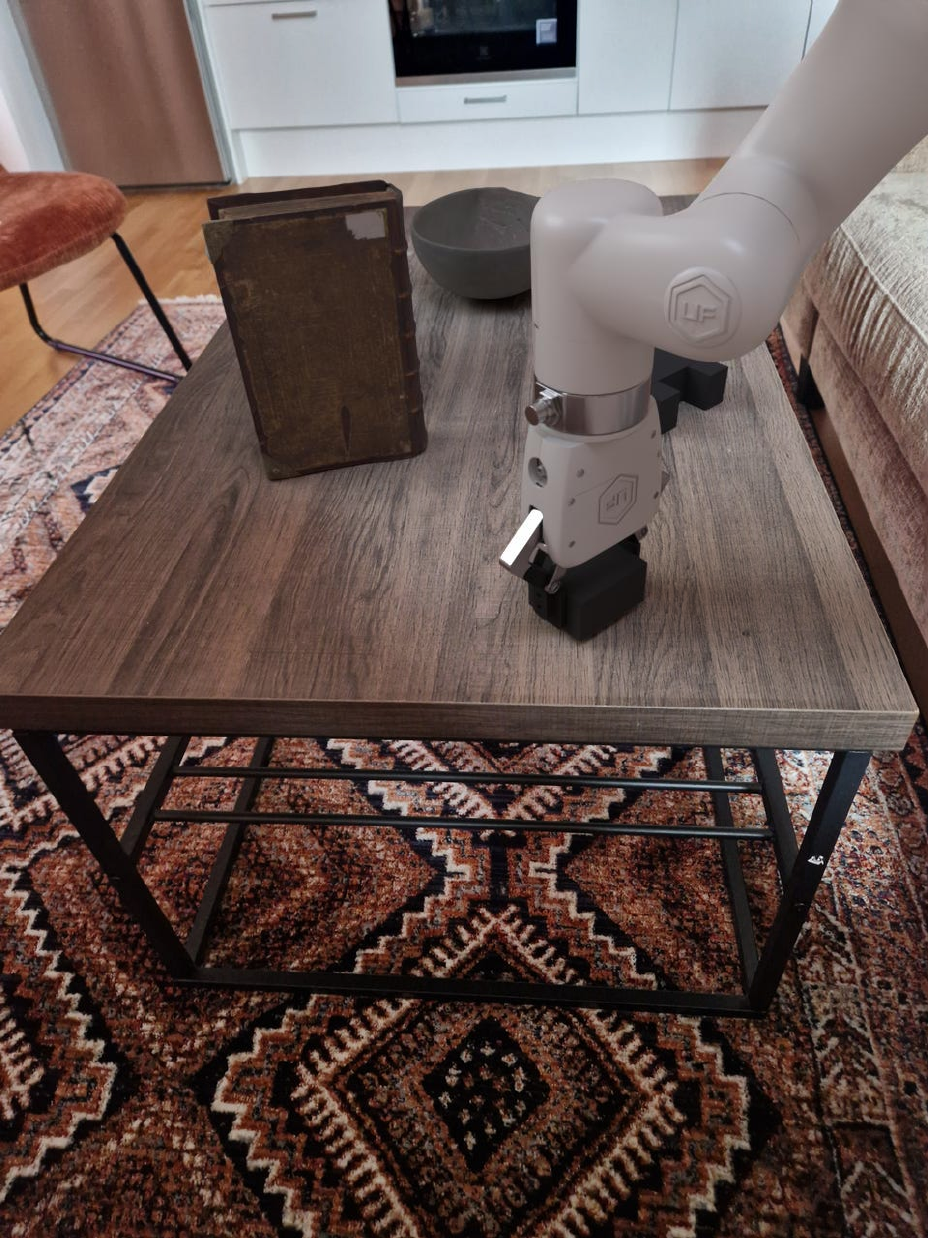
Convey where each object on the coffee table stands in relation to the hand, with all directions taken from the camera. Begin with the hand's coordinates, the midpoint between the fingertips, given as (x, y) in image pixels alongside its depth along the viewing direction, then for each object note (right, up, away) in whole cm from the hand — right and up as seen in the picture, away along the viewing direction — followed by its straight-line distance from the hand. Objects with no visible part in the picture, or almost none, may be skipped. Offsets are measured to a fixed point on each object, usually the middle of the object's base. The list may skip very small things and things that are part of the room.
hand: (586, 594), depth 67 cm
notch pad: (+10, +22, +24) cm, 35 cm away
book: (-21, +15, +20) cm, 32 cm away
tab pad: (-1, 0, +1) cm, 2 cm away
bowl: (-6, +42, +47) cm, 63 cm away
